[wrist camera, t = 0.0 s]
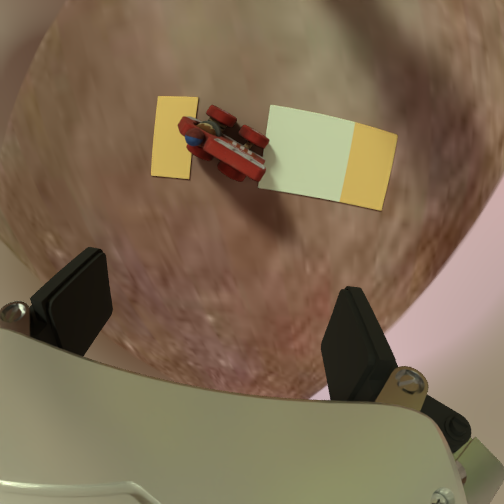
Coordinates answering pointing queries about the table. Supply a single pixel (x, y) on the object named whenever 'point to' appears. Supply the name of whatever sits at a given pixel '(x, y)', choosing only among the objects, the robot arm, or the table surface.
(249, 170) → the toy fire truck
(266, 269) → the table surface
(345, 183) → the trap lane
